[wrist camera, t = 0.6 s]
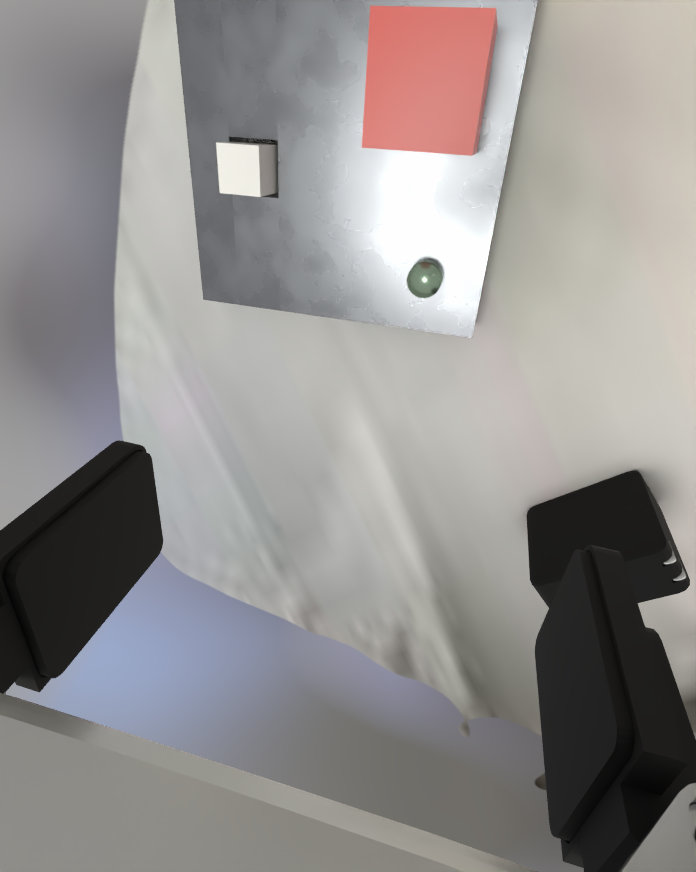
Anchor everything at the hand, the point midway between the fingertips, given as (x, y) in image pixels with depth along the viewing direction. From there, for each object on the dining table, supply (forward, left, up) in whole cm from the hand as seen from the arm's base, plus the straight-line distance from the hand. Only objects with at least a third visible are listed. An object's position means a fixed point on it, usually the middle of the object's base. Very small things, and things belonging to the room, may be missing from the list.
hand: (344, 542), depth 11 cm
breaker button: (-5, -15, -31) cm, 34 cm away
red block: (-10, -3, -29) cm, 31 cm away
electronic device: (+20, +15, -32) cm, 41 cm away
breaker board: (-5, -9, -32) cm, 34 cm away
